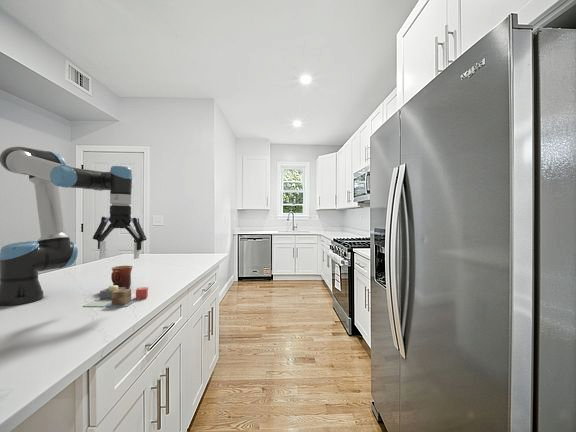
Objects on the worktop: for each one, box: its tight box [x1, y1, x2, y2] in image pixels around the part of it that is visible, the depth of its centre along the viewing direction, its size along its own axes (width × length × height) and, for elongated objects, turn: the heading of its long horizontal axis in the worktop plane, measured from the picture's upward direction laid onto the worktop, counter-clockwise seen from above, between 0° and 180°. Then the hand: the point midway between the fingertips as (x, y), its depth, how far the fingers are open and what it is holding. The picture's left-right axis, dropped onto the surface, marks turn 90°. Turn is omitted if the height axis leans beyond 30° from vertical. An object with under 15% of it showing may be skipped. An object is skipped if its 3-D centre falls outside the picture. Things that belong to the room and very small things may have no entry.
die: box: [135, 286, 149, 300], centre depth 129 cm, size 4×4×4 cm
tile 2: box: [105, 299, 137, 308], centre depth 120 cm, size 8×8×1 cm
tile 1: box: [82, 299, 112, 308], centre depth 120 cm, size 8×8×1 cm
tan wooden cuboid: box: [112, 288, 132, 305], centre depth 120 cm, size 5×5×5 cm
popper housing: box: [99, 287, 126, 300], centre depth 129 cm, size 7×7×4 cm
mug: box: [110, 265, 133, 289], centre depth 142 cm, size 12×9×10 cm
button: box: [108, 284, 118, 291], centre depth 129 cm, size 4×4×4 cm
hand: (119, 257), depth 122 cm, fingers open, 13 cm apart
